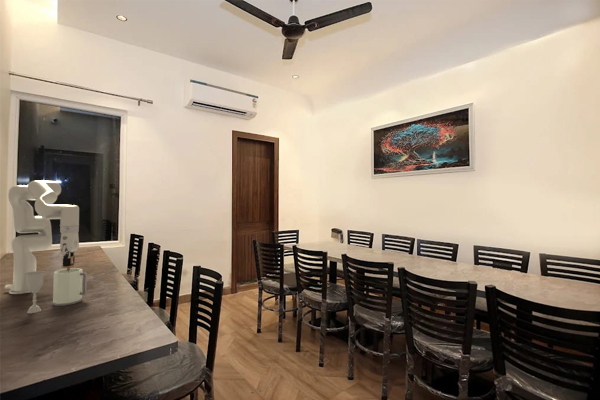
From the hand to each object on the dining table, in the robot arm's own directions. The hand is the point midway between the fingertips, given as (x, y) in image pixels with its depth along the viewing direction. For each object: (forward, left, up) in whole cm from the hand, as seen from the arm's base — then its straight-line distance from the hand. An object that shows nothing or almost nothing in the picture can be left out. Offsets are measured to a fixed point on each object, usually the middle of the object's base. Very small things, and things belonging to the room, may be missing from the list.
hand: (68, 264), depth 152 cm
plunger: (0, 0, -17) cm, 17 cm away
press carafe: (0, 0, -19) cm, 19 cm away
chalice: (-9, -11, -19) cm, 24 cm away
